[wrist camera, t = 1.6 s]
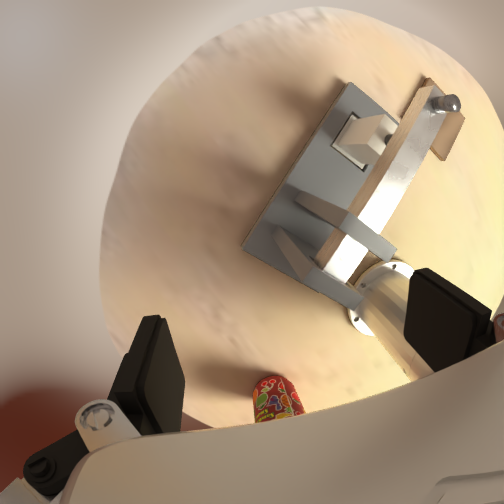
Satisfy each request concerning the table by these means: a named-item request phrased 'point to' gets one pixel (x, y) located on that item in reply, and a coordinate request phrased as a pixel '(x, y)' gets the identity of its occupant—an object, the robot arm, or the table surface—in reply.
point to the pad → (445, 129)
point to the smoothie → (275, 400)
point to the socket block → (319, 205)
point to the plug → (364, 139)
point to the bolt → (388, 178)
